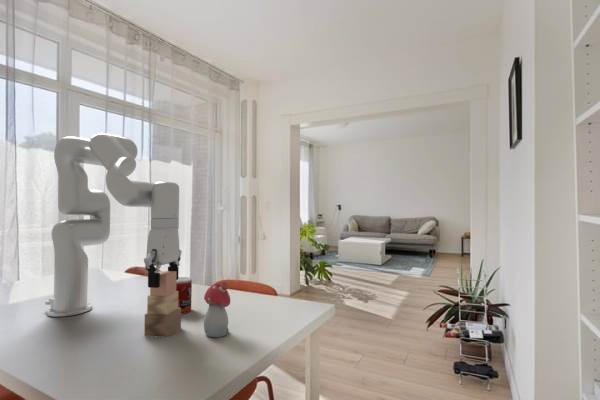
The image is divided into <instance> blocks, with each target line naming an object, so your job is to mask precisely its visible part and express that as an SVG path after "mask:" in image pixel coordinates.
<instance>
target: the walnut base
mask: <svg viewBox="0 0 600 400" xmlns="http://www.w3.org/2000/svg"><path fill="white" fill-rule="evenodd" d="M181 322H182V314H181V308H178V309H176V310H174V311H173V312H171V313H170V314H168V315H160V314H147V312H146V313H145V314H144V329H143V331H144V333H143V334H144V336H145V337H155V336H157V337H158V338H169V337H171V335H173V334H174V333H176V332H177V331H178V330H180V329H181V328H182V323H181ZM157 337H156V338H157Z"/></svg>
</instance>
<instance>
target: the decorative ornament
mask: <svg viewBox="0 0 600 400" xmlns="http://www.w3.org/2000/svg"><path fill="white" fill-rule="evenodd" d="M229 288H230V287H229V284H228V282H226V281H223V282H220V284H219V283H215V284H212V285H211V286H209V287H208V289H206V291H205V293H204V296H203V299H204V301H205V303H206V304H207V305H208V308H207V310H206V312H205V314H204V317H203V318H204V319H203V329H204V333H205V335H206V336H208V337H209V338H220V337H224V336H227V335H228V334H229V327H228V325H229V316H228V313H227V312H228V311H227V310H226V307H229V306H230V304H231V296H230V293H229V292H228V289H229Z"/></svg>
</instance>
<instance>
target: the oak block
mask: <svg viewBox="0 0 600 400" xmlns="http://www.w3.org/2000/svg"><path fill="white" fill-rule="evenodd" d="M146 302H147V307H146V309H147V311H146V313H147V314H160V315H168V314H170V313H171V312H173V311H174V310H176V309H178V291H176V292H175V293H173V294H170V295H168V296H152V295H150V294H149V295H147V301H146Z"/></svg>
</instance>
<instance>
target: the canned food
mask: <svg viewBox="0 0 600 400" xmlns="http://www.w3.org/2000/svg"><path fill="white" fill-rule="evenodd" d="M192 281H193V280H192V278H191V277H188V276H187V277H186V276H180V277H179V276H178V280H176V291H178V308H181V315H184V314H187V312H188V313H189V312H190V311H191V309H192V291H193V290H192V289H193V287H192V285H193V284H192V283H193V282H192Z"/></svg>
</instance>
